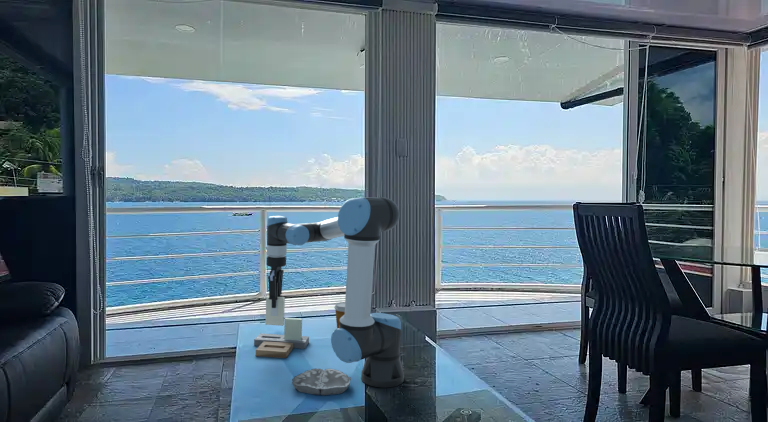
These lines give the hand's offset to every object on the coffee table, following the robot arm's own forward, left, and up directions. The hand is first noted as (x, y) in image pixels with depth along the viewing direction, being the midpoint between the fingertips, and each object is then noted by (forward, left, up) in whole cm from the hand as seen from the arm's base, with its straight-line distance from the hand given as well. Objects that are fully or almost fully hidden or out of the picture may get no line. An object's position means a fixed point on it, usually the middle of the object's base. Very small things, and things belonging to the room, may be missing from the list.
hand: (275, 314), depth 205 cm
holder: (0, 0, -15) cm, 15 cm away
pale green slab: (0, 0, -4) cm, 4 cm away
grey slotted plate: (+10, 0, -15) cm, 19 cm away
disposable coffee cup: (+33, -23, -16) cm, 43 cm away
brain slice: (-28, -25, -16) cm, 40 cm away
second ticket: (+10, -5, -15) cm, 19 cm away
